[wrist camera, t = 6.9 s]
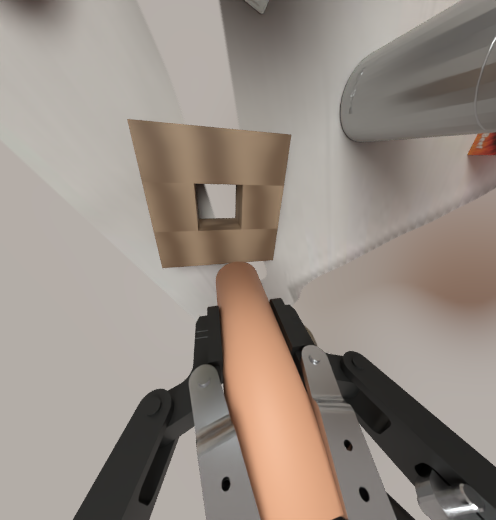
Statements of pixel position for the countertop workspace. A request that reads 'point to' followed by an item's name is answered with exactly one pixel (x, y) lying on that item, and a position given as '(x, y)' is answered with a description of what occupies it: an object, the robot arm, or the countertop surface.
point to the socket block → (210, 172)
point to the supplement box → (258, 4)
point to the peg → (270, 406)
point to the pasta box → (484, 144)
